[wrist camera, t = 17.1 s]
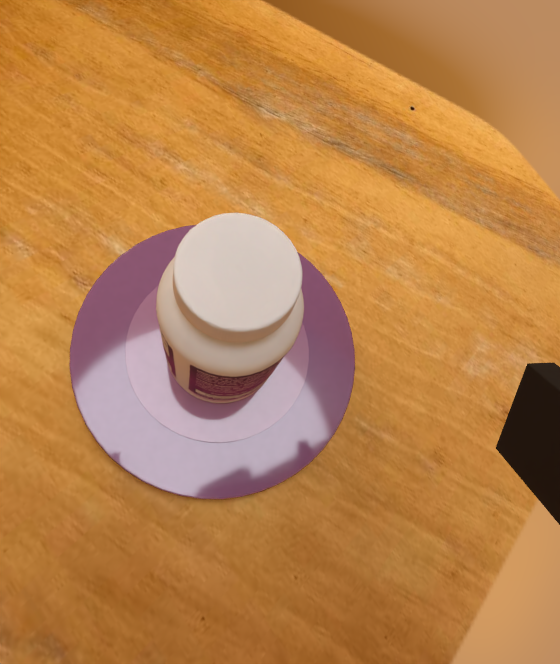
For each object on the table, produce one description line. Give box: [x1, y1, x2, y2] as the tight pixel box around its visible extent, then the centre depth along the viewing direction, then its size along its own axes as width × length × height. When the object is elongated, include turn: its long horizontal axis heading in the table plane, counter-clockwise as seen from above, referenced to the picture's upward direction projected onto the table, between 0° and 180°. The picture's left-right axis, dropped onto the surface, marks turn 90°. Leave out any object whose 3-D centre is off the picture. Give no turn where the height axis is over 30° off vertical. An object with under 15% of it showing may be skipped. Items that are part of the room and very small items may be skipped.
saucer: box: [70, 225, 355, 499], centre depth 24 cm, size 14×14×1 cm
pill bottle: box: [156, 213, 304, 403], centre depth 19 cm, size 5×5×10 cm
